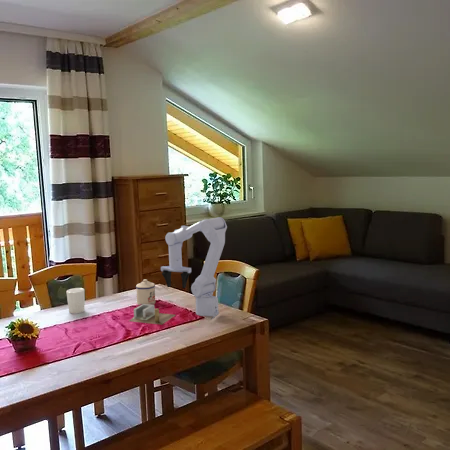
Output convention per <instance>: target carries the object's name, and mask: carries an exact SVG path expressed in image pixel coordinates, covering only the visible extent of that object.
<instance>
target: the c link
mask: <svg viewBox="0 0 450 450" xmlns="http://www.w3.org/2000/svg"><path fill="white" fill-rule="evenodd" d="M155 309H156V308H155V304H139V305H138V306H137V307H134V308H133V318H138V317H140V316H141V315H143V319H147V318H149V317H150V316H152V315H153V314H155Z"/></svg>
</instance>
